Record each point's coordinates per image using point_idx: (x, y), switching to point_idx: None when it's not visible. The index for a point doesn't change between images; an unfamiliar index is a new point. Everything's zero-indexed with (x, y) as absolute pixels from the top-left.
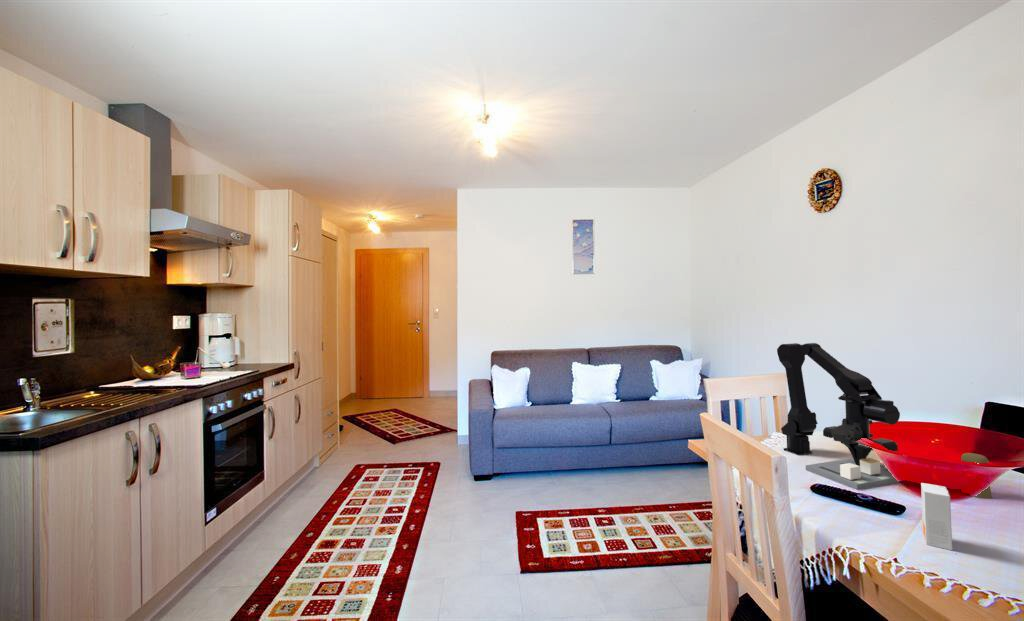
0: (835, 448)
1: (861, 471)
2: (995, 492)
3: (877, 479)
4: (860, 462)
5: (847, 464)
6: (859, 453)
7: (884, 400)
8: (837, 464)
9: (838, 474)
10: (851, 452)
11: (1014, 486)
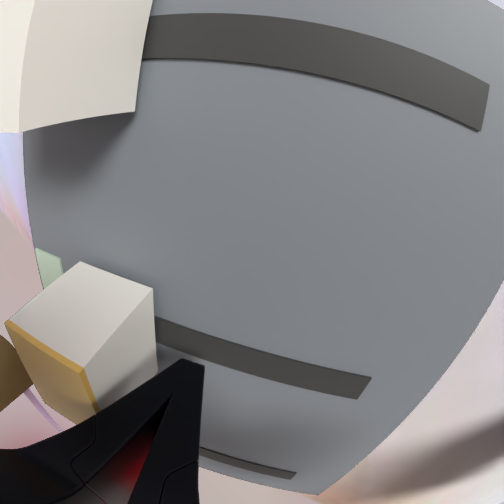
0: (427, 499)
1: (140, 286)
2: None
3: (38, 218)
4: (93, 346)
5: (9, 27)
6: (66, 447)
7: None
8: (382, 345)
9: (217, 14)
10: (180, 484)
11: (58, 431)
